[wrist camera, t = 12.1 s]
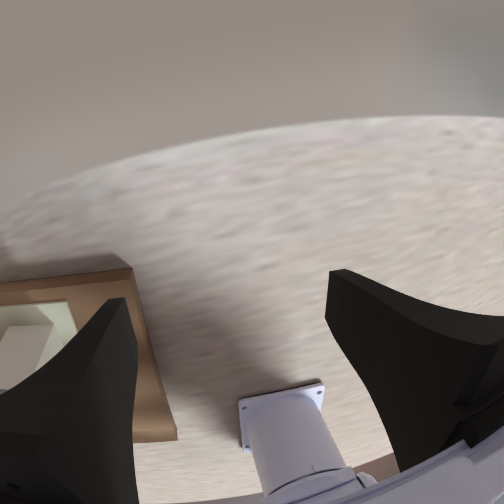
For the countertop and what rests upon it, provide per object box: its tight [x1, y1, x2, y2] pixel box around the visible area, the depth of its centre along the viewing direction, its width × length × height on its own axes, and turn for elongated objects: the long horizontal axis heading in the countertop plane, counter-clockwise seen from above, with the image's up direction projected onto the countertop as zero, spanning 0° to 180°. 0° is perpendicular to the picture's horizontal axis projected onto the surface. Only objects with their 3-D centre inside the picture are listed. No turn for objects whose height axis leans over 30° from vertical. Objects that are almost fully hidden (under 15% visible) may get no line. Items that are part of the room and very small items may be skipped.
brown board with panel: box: [0, 268, 178, 443], centre depth 21 cm, size 17×16×2 cm
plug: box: [0, 324, 64, 395], centre depth 15 cm, size 4×4×7 cm
